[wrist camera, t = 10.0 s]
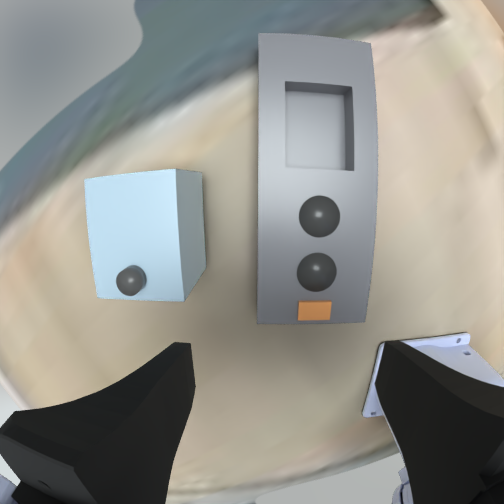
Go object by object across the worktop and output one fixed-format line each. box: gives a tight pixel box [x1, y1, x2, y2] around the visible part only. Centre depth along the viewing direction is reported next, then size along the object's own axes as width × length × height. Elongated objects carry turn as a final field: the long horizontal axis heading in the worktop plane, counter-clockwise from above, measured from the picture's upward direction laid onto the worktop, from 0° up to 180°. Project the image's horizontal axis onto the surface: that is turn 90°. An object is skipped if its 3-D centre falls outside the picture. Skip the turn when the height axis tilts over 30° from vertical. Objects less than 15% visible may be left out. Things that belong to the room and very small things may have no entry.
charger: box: [85, 169, 206, 302], centre depth 16 cm, size 5×6×8 cm
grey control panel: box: [257, 33, 378, 324], centre depth 17 cm, size 7×18×3 cm, turn 0°
